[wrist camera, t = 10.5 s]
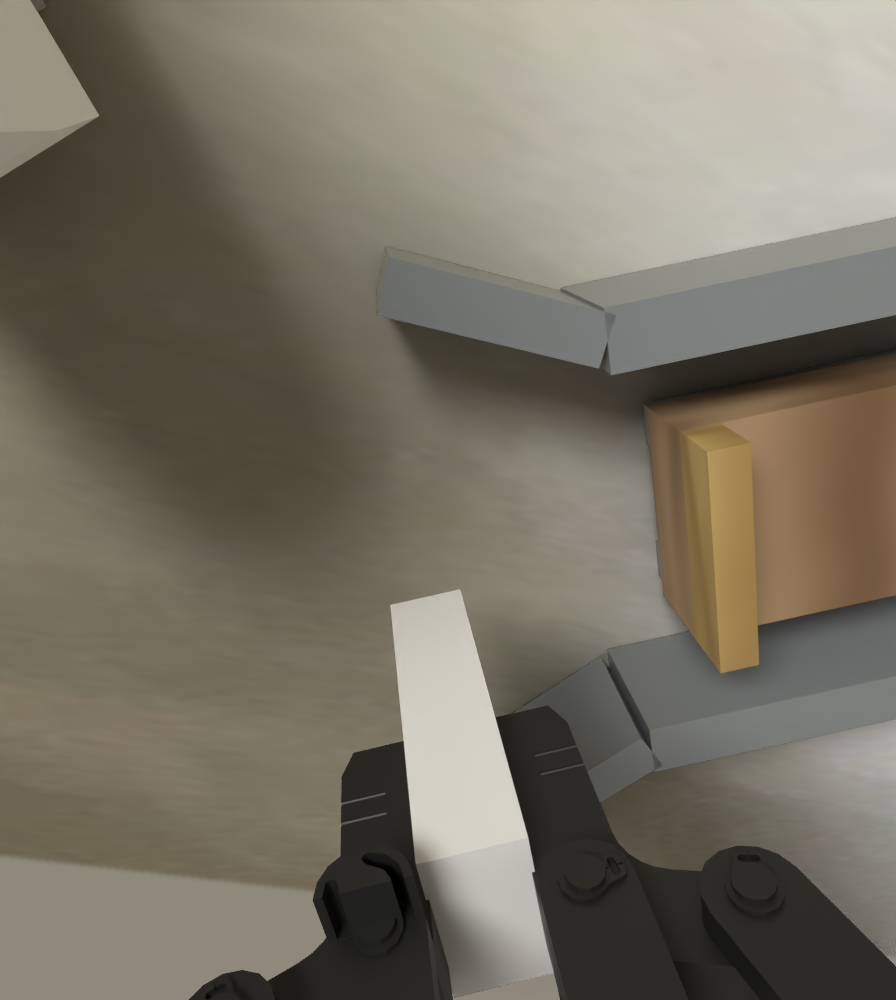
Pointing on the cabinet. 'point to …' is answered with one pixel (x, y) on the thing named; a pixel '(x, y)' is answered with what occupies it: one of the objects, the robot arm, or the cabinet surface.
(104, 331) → the cabinet surface
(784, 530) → the tan block yellow end
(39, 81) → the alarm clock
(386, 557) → the cabinet surface
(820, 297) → the bay
